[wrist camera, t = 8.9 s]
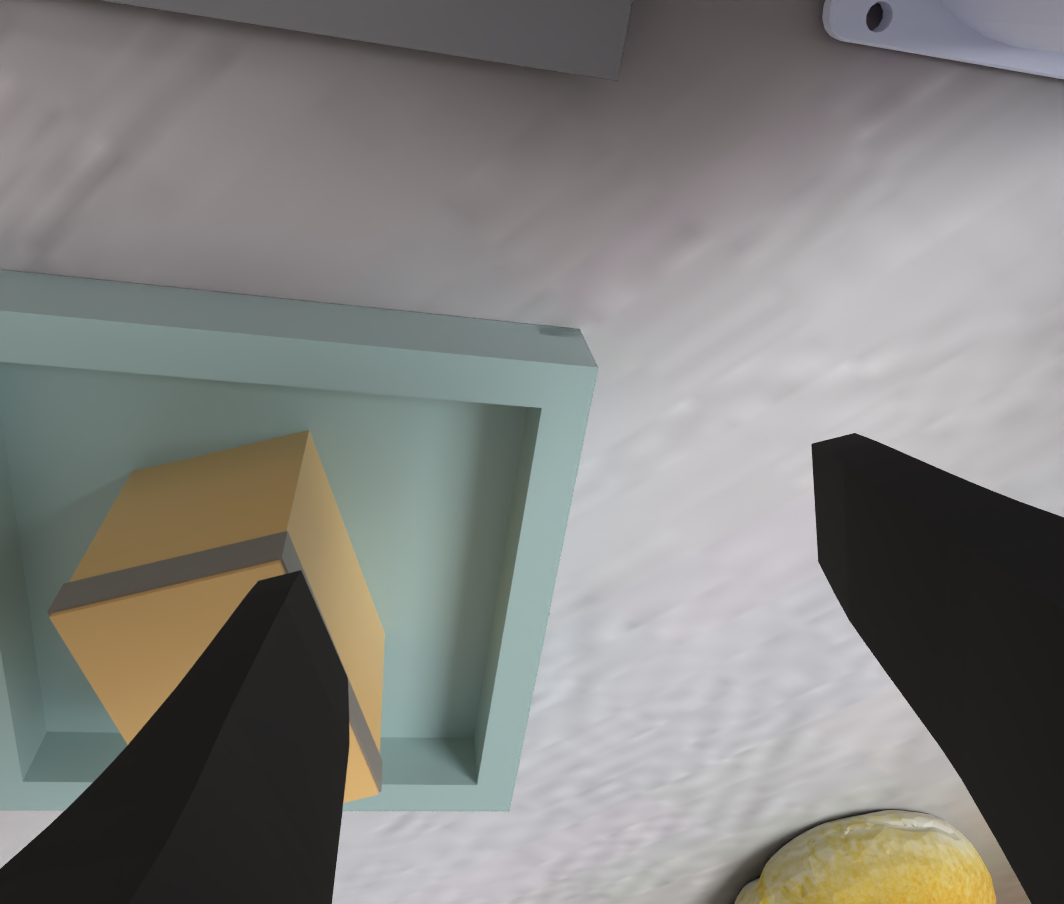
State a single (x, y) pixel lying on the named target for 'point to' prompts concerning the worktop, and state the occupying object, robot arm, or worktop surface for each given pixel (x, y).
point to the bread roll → (875, 864)
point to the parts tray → (354, 477)
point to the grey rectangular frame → (449, 27)
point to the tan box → (219, 582)
